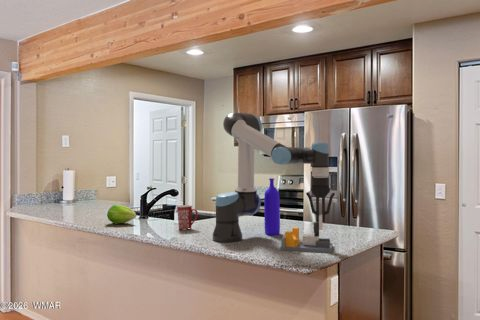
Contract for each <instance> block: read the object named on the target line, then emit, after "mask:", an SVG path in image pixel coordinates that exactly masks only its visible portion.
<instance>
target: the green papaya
mask: <svg viewBox="0 0 480 320" xmlns="http://www.w3.org/2000/svg"><path fill="white" fill-rule="evenodd" d="M106 217H107V219H108V220H109V222H111V223H113V224H114V225H118V224H119V225H120V223H121V224H125V223H128V222H130V221H132V220H134V219H136V218H137V213H136V212H135V211H134V210H133V209H131V208H130V207H128V206H125V205H119V204H118V205H117V204H113V205H112V206H111V207H109V208H108V209H107V213H106Z"/></svg>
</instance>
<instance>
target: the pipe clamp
mask: <svg viewBox="0 0 480 320" xmlns="http://www.w3.org/2000/svg"><path fill="white" fill-rule="evenodd" d="M284 234H285V246H287V247H296V246H297V245H299V241H300V227H292V229H291V231H288V230H287V231H285V232H284Z"/></svg>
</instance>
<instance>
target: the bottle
mask: <svg viewBox="0 0 480 320" xmlns="http://www.w3.org/2000/svg"><path fill="white" fill-rule="evenodd" d="M268 180H269V187H268V188H267V189H266V191H265V192H264V196H263V197H264V201H263V202H264V203H263V204H264V205H263V206H264V210H263V211H264V212H263V213H264V216H263V217H264V233H265V235H266V236H278V235H280V232H281V210H280V209H281V206H280V205H281V204H280V202H281V201H280V192H279V191H278V189H277V188H276V187H275V184H274V183H275V178H272V177H270V178H268Z"/></svg>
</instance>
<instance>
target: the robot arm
mask: <svg viewBox="0 0 480 320" xmlns="http://www.w3.org/2000/svg"><path fill="white" fill-rule="evenodd" d="M262 129H263V124H262V121H261V119H260V118H259V116H257V114H254V113H253V114H252V113H244V112H237V111H236V112H235V111H234V112H231V113H229V114H227V115H226V116H225V117H224V119H223V130H224V131H225V132H226V133H227V134H228V135H229V136H231V137H233V138H235V140H236V142H237V143H238V144H237V145H238V148H237V149H238V150H237V151H238V153H237V155H238V156H237V157H238V158H237V187H236V189H235V190H234V191H229V192H221V193H219V194H217V195H216V197H215V203H214V204H215V225H214V230H213V232H212V241H214V242H217V243H218V242H220V243H233V242H239V241H242V240H243V233H242V229H241V226H240V222H239V221H240V220H239V219H240V217H246V216H251V215H255V214H257V212H258V211H260V209H261V204H262V200H261V197H260V195H259V194H258V191H257V189H256V188H255V149H257V150H259V151H260V152H261V153H262V152H263V153H264V154H265V155H267V156H268V157H271V160H272V161H273V163H275V164H277V165H281V166H282V165H300V164H301V165H303V164H305V165H306V164H307V165H308V164H310V165H311V177H312V178H311V188H310V190H309V191H307V192H306V193H305V194H306V196H307V198H308V202H309V205H310V209H311V213H312V214H313V215H315V217H316V218H315V220H316V221H315V222H319V231H323V223H325V222H326V215H328V214H330V210H331V207H332V201H333V198H334V197H335V195H336V193H335V192H334V191H332V190H331V188H330V178H329V176H330V166H329V163H330V161H329V159H330V149H329V144H328V143H327V142H313V143H311V147H293V146H292V147H291V146H290V147H287V146H286V145H284V144H283V143H281V142H279V141H277V140H276V139H274V138H272V137H270V136H268V135H267V134H265V133H262V131H263V130H262ZM312 195H314V197H315V205H314V201H313V198H312ZM328 195H329V199H328V204H327V207H326V197H327V196H328ZM320 198H321V214H320Z"/></svg>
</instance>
